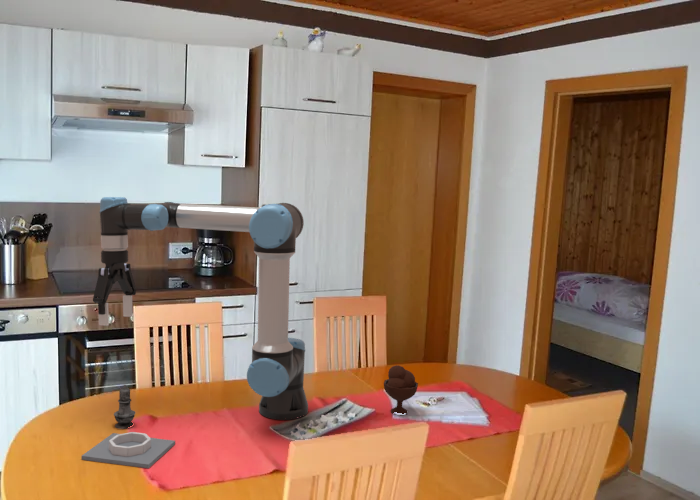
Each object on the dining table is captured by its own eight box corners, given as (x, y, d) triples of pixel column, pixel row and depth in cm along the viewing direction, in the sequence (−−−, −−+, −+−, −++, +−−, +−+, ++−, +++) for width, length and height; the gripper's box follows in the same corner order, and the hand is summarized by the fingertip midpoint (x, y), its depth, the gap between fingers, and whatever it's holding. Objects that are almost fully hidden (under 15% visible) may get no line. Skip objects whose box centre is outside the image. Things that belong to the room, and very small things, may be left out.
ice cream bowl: (393, 420, 201) (396, 373, 199) (375, 408, 211) (378, 362, 209) (423, 416, 206) (426, 369, 204) (404, 404, 215) (406, 359, 214)
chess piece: (128, 430, 184) (128, 389, 182) (109, 428, 185) (109, 386, 184) (139, 423, 190) (139, 382, 188) (120, 420, 191) (121, 380, 189)
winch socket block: (175, 444, 176) (175, 432, 176) (148, 468, 162) (148, 455, 161) (113, 436, 179) (113, 425, 179) (81, 459, 165) (81, 447, 164)
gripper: (124, 245, 207) (126, 312, 209) (78, 253, 182) (80, 328, 184) (146, 246, 205) (148, 313, 207) (103, 253, 181) (105, 329, 183)
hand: (116, 320), depth 196 cm, fingers open, 13 cm apart
